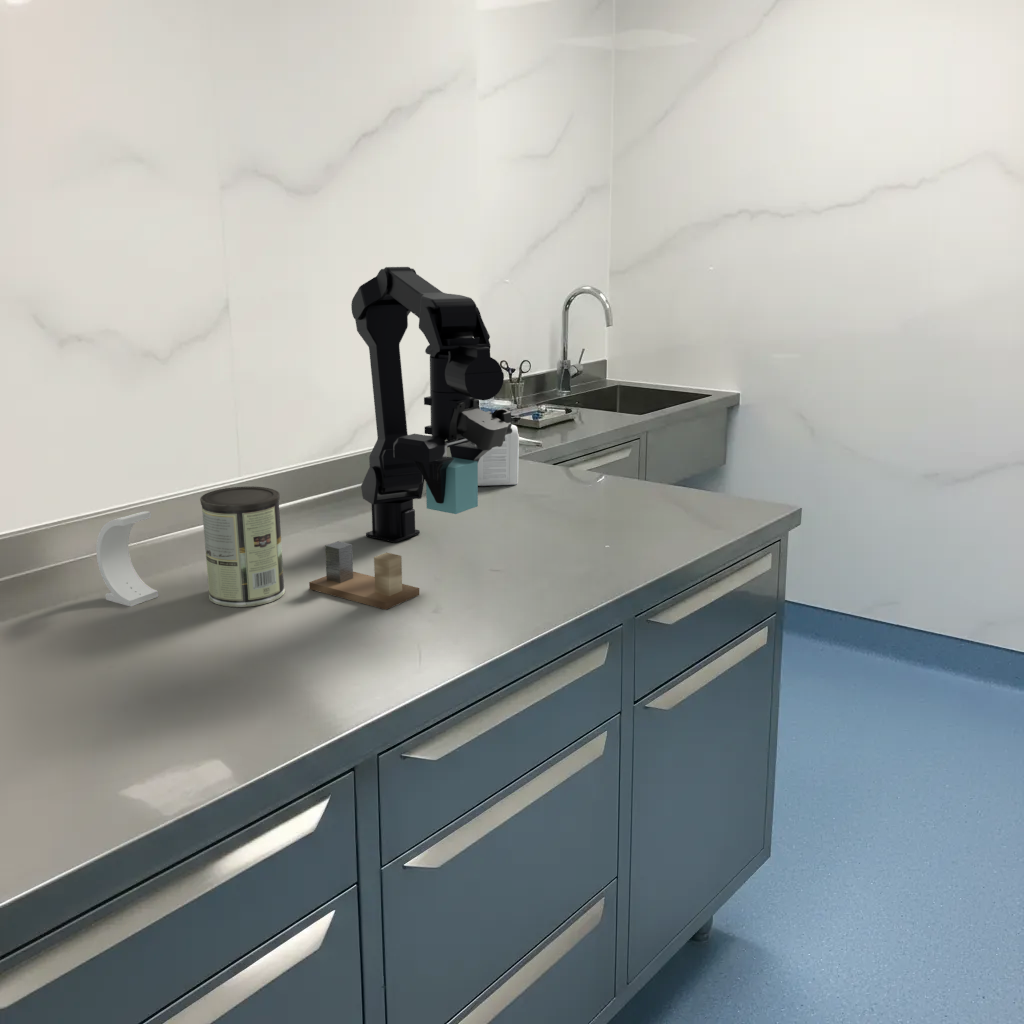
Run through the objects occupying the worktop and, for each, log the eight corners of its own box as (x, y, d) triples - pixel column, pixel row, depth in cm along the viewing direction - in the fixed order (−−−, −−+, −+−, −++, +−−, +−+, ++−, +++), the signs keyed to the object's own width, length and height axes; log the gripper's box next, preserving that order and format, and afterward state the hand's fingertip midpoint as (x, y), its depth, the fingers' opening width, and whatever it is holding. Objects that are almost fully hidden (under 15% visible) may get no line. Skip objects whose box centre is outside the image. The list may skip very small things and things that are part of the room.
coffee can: (235, 578, 150) (229, 483, 146) (298, 587, 147) (294, 489, 143) (192, 602, 141) (183, 500, 137) (258, 611, 137) (252, 508, 134)
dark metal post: (326, 579, 147) (325, 545, 145) (339, 574, 149) (338, 541, 147) (340, 583, 145) (338, 548, 144) (353, 578, 147) (351, 544, 146)
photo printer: (516, 480, 208) (516, 419, 205) (520, 485, 204) (521, 423, 201) (465, 482, 206) (464, 420, 203) (468, 488, 202) (468, 424, 199)
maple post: (375, 592, 142) (373, 557, 140) (387, 587, 144) (386, 552, 142) (389, 596, 140) (388, 560, 139) (402, 590, 142) (401, 555, 141)
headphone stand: (130, 606, 139) (122, 519, 136) (100, 598, 142) (91, 513, 139) (158, 596, 143) (150, 511, 139) (128, 588, 146) (120, 505, 142)
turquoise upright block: (426, 508, 149) (425, 463, 147) (449, 500, 153) (448, 456, 151) (455, 514, 146) (455, 468, 144) (477, 506, 150) (477, 461, 148)
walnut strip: (309, 589, 146) (309, 582, 146) (344, 575, 151) (344, 569, 151) (385, 609, 138) (385, 602, 138) (419, 594, 144) (419, 588, 143)
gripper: (456, 404, 133) (457, 522, 137) (536, 387, 148) (535, 494, 152) (389, 396, 139) (392, 509, 143) (472, 380, 154) (473, 483, 158)
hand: (451, 499), depth 149 cm, fingers closed on turquoise upright block, 5 cm apart
